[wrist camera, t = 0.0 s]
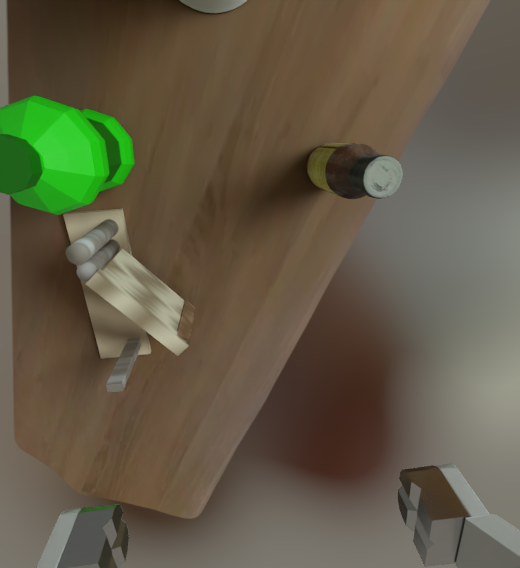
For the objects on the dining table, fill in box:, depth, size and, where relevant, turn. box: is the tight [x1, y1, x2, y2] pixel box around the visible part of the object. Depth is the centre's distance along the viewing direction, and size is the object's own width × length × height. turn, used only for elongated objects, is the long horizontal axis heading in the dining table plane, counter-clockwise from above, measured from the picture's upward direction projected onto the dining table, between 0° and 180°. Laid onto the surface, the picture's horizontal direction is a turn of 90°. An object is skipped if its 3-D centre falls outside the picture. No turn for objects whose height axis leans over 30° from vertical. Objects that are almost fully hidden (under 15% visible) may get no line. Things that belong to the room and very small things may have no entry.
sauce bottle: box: [306, 143, 403, 199], centre depth 45 cm, size 7×6×20 cm
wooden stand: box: [63, 209, 151, 392], centre depth 52 cm, size 24×8×14 cm, turn 4°
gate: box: [77, 239, 195, 356], centre depth 51 cm, size 16×2×12 cm, turn 44°
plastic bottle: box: [0, 96, 134, 215], centre depth 39 cm, size 10×10×25 cm
